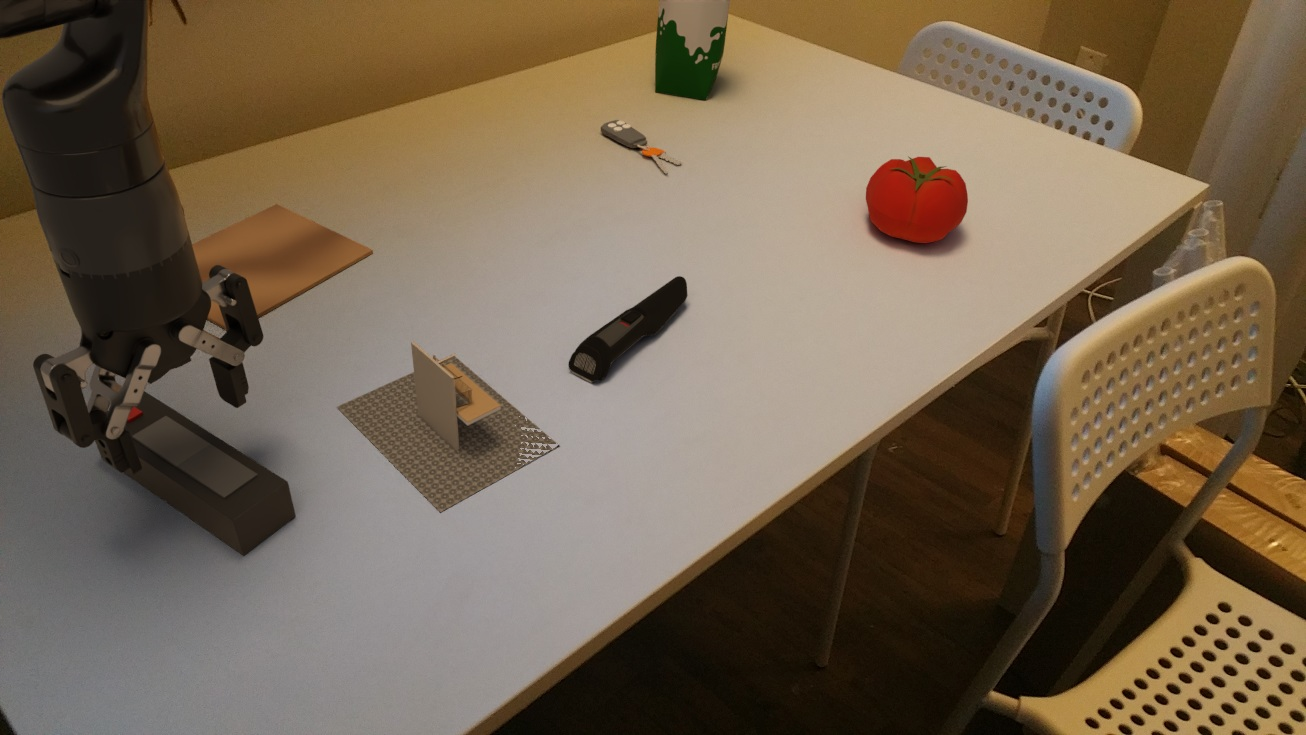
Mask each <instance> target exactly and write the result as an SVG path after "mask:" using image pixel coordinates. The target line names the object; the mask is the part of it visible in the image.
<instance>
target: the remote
mask: <svg viewBox="0 0 1306 735" xmlns="http://www.w3.org/2000/svg"><path fill="white" fill-rule="evenodd" d="M108 411H109V409H108ZM108 411H107V414H108ZM124 429H126V430H127V431H129V433H130V436H131V439H132V441H133V444H134V447H135V449H136V452H137V455H138V458H139V460H140V463H141V466H142V470H140V471H139V472H137V473H135V474H134V475H130V474H128V473H127V472H125V471H124V472H123V473H122V474H125V475H126V476H128V477H130V479H132V480H133V481H135V482H136V483H138V484H139V485H141V486H142V487H144V488H145V489H146V490H148V491H149V492H151V493H152V494H154V495H155V496H156V497H158V498H160V499H161V500H163V501H164V502H165V503H167V504H168V505H169V506H171V507H173V508H174V510H177V511H178V512H179V513H181V514H182V515H184V516H186V517H187V518H189V520H191V521H193V522H194V523H195V524H197V525H199V526H200V527H201V528H203V529H205V531H207V532H209V533H210V534H211V535H213V536H214V537H216V538H217V539H219V540H220V541H222V542H223V543H224V544H226V545H227V546H229V547H230V548H232V549H233V550H235V552H237V553H239V554H240V555H242V556H245V555H246V554H248V553H249V552H250V551H252V550H254V549H255V548H256V547H258V545H260V544H261V543H262V542H264V541H266V540H267V539H269V537H270V536H272V535H273V534H274V533H276V532H277V531H279V529H281V528H283V527H284V526H285V525H286V524H288V523H289V522H291V520H293V519H294V518H295V517H296V516H297V515H296V512H295V507H294V503H293V498H292V494H291V489H290V486H289V485H290V484H289V481H288V480H286V479H285V478H284V477H281V476H280V475H278V474H276V473H275V472H273V471H271V470H270V469H269V468H267V467H266V466H263V465H262V464H260V463H259V462H258V461H256V460H254V459H253V458H252V457H249V456H248V455H246V454H245V453H243V452H241V451H240V450H239V449H237V448H235V447H234V446H232V445H231V444H229V443H228V442H226V441H224V440H223V439H221V438H220V437H218V436H216V435H215V434H213V433H211V432H210V431H209V430H207V429H205V428H204V427H202V426H200V425H199V424H198V423H196V422H195V421H193V420H191V419H190V418H188V417H186V416H185V415H183V414H182V413H180V412H179V411H177V410H175V409H174V408H172V407H171V406H169V405H167V404H165V403H164V402H163V401H161V400H159V399H158V398H156V397H155V396H153V395H151V394H150V393H148V392H147V391H145V390H144V392H143V395H142V398H141V401H140V403H139V405H138V406H137V407H133V408H132V409H131V412H130V414H129V417H128V420H127V423H126V425H125V428H124ZM94 442H95V444H96V447H97V450H98V453H99V455H100V457H101V458H102V459H103V457H102V454H101V452H100V449H99V447H98V445H97V442H96V440H94Z"/></svg>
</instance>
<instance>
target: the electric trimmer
mask: <svg viewBox="0 0 1306 735" xmlns="http://www.w3.org/2000/svg"><path fill="white" fill-rule="evenodd" d="M687 283H688V282H687V279H686V278H685V277H683V276H682V275H679V276H675V277H673V278H672V279H671V280H669V281H668V282H667V283H665V284H663V285H662V286H661V287H659V288H658V289H657V290H655V291H654V292H652V293H651V294H649V295H648V296H646V297H645V298H644V299H642V300H641V301H639V302H638V303H637V304H635V305H634V306H632V307H631V308H628V309H626V310H625V311H623V312H622V313H620V314H619V315H618V316H616V317H614V318H613V319H612V320H610V321H609V322H607V323H606V324H604V325H602V327H600V328H599V329H597V330H596V331H594V332H592V333H591V334H590V335H588V336H587V337H586V338H584V340H583V341H582V342H581V343H580V344H579V345H578V346H577V348H575V350H574V352H573V353H572V354H571V355H570V358H569V360H568V370H570V372H571V374H572V375H576V376H577V377H579V378H582V380H585V381H587V382H589V383H590V384H592V383H593V382H596V381H597V382H598V381H600V382H601V381H602V380H604V379H605V378H606V376H607V375H608V373H609V371H610V369H611V366H612V365H613V364H612V363H613V362H615V361H616V360H617V359H619V357H620V356H622V355H623V354H624V353H625V352H627V351H628V350H629V349H630V348H631V347H633V345H635V344H636V343H638V342H639V341H640V340H641V339H642V338H643V337H647V336H654V335H656V334H657V333H658V332H659V331H660V330H662V329H663V327H664V326H665V325H666V324H667V323H668V322H669V320H671V318H672V317H673V316H674V315H675V314H676V312H678V310H679V309H680V308H681V306H683V305H684V303H685V302H686V301H687V298H688V284H687Z"/></svg>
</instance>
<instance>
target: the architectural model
mask: <svg viewBox="0 0 1306 735" xmlns="http://www.w3.org/2000/svg"><path fill="white" fill-rule="evenodd" d="M410 346H411V356H412V365H413V372H409V373H408V374H406V375H404V376H401V377H399V378H397V379H395V380H393V381H390V382H389V383H386V384H384V385H382V386H380V387H377V388H375V389H372V390H370V391H368V392H366V393H364V394H362V395H360V396H357V397H355V398H353V399H351V400H348V401H346V402H344V403H342V404H339V405H338V406H336V409H338V410H339V411H340V412H341V413H342V415H344V416H345V417H346V418H347V420H349V421H350V422H351V423H352V425H353V426H354V427H355V428H357V430H358V431H359V432H360V433H362V434H363V436H364V437H365V438H366V439H368V441H369V442H370V443H371V444H372V445H373V446H374V447H375V448H376V449H377V450H378V451H379V452H380V453H381V454H382V455H383V456H384V457H385V459H387V460H388V461H389V462H390V463H391V464H392V465H393V466H394V467H395V468H396V469H397V470H398V471H399V472H400V473H401V475H403V476H404V477H405V479H407V480H408V481H409V483H410V484H412V485H413V487H414V488H416V489H417V490H418V492H420V494H422V496H424V497H425V498H426V500H427V501H428V502H429V503H431V505H433V507H434V508H435V509H436V510H437V511H438V512H439V513H442V512H444V511H446V510H447V509H450V508H451V507H453V506H455V505H456V504H458V503H460V502H462V501H463V500H466V499H467V498H469V497H471V496H473V495H474V494H476V493H478V492H479V491H481V490H483V489H486V488H488V486H490V485H493V484H494V483H496V482H498V481H499V480H501V479H503V478H505V477H506V476H509V475H511V474H513V473H514V472H516V471H517V470H519V469H521V468H523V467H524V466H523V464H526V465H528V464H530V463H531V462H530V461H528V462H527V463H526V462H525V461H524V460H521V461H519V459H518V458H520V459H530V460H534V461H535V460H537V459H538V458H537V457H534V458H532V457H531V456H529V457H528V458H527V457H526V456H525V455H521V456H520V454H519V453H522V454H532V455H543V456H544V455H546V454H549V453H550V452H549V451H548V452H547V453H546V454H545V453H544V452H543V451H542V452H541V453H540V454H539V453H538V452H537V451H535V452H534V453H533V452H532V451H531V450H529V451H528V452H527V451H526V450H525V448H527V449H541V450H552V451H554V450H556V449H557V448H558V447H555V448H553V449H552V448H551V447H550V446H549V445H548V444H556V443H557V442H556V441H555V440H554V439H552V438H551V439H549V438H548V437H550V436H549V435H547V433H546V432H544V431H543V430H542V431H541V432H538V431H537V430H534V432H533V431H532V430H531V429H530V430H529V431H527V429H525V430H522V429H521V427H526V428H535V429H540V427H539V426H537V425H536V424H535V423H534V422H533V423H532V420H530V419H529V418H528V417H527V416H526V415H524V414H523V413H522V412H521V411H520V410H519V409H517V407H515V406H514V405H513V404H512V403H510V402H509V401H508V400H507V399H506V398H504V397H503V396H502V395H501V394H500V393H499V392H498V391H497V390H495V389H494V388H493V387H492V386H491V385H489V384H488V383H487V382H486V381H485V380H484V379H482V378H481V377H480V376H479V375H478V374H476V373H475V371H473V370H472V369H470V368H469V367H468V366H467V365H466V364H464V362H463V361H461V360H460V359H459V358H457V353H452V354H450V355H448V356H445V357H443V358H441V359H439V358H437V357H436V355H435V354H433V355H432V356H431V355H430V354H429V353H428V352H426V351H425V350H424V349H423V348H422V347H421V346H420V345H418V344H417V343H416V342H415V341H414V340H413V341H411V342H410ZM519 416H520V417H519ZM525 417H526V418H527V421H526V419H525ZM515 425H516V426H515ZM521 435H523V436H521ZM525 435H527V436H528V438H527V437H526V436H525ZM531 436H533V438H532V437H531ZM536 436H537V437H539V439H538V438H537V437H536ZM542 437H545V439H543V438H542ZM521 442H523V443H522V444H521ZM525 442H528V443H529V445H528V446H527V444H526V443H525ZM531 443H535V445H534V447H533V445H532V444H531ZM536 443H542V444H547V446H546V448H545V447H544V446H543V445H542V446H541V447H540V448H539V446H538V445H537V444H536ZM520 448H524V449H522V450H521V449H520ZM517 463H521V464H517ZM515 467H516V468H515Z"/></svg>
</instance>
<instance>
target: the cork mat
mask: <svg viewBox="0 0 1306 735" xmlns="http://www.w3.org/2000/svg"><path fill="white" fill-rule="evenodd" d="M192 246H193V250H194V254H195V258H196V261H197V265H198V269H199V272H200V276H201V280H202V283H204V282H205V281H207V280H209V279H210V278H209V272H210V270H211V268H212V267H214V266H216V265H221V266H223V267H225V268H227V269H229V270H230V271H232V272H234V273H236V274H238V275H240V276H242V277H244V278H245V279H246V280H247V283H248V286H249V289H250V292H251V296H252V299H253V302H254V306H255V309H256V312H257V315H258V319H259V318H261V317H263V316H264V315H266V314H268V313H270V312H271V311H273V310H275V309H277V308H278V307H281V306H283V304H286V303H288V302H290V301H291V300H293V299H295V298H296V297H298V296H301V295H302V294H303V293H305V292H307V291H309V290H311V289H312V288H314V287H316V286H317V285H319V284H321V283H323V282H325V281H326V280H328V279H330V278H333V276H335V275H337V274H338V273H340V272H342V271H343V270H346V269H348V268H350V267H351V266H353V265H354V264H356V263H358V262H360V261H362V260H363V259H365V258H367V257H369V256H370V255H372V254H374V249H372V248H370V247H368V246H365V245H364V244H361V243H359V242H358V241H355V240H353V239H351V238H349V237H347V236H345V235H343V234H341V233H338V232H336V231H335V230H332V229H330V228H328V227H326V226H324V225H322V224H320V223H317V222H316V221H313V220H312V219H309V218H307V217H305V216H303V215H301V214H299V213H297V212H294V211H292V210H290V209H288V208H286V207H284V206H282V205H280V204H277V203H276V204H274V205H272V206H271V205H270V206H269V207H267V208H265V209H263V210H261V211H258V212H257V213H255V214H253V215H251V216H248V217H246V218H244V219H242V220H240V221H238V222H236V223H234V224H232V225H229V226H227V227H225V228H223V229H221V230H218V231H217V232H215V233H213V234H211V235H208V236H206V237H204V238H202V239H200V240H198V241H196V242H194V243H192ZM207 321H209V322H210V323H213V324H214V325H216V326H218V327H219V328H222V329H223V330H225V331H227V329H226V326H225V323H224V320H223V317H222V314H221V311H220V308H219V305H218V304H217V303H215V302H213V301H211V309H210V312H209V315H208V318H207Z"/></svg>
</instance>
